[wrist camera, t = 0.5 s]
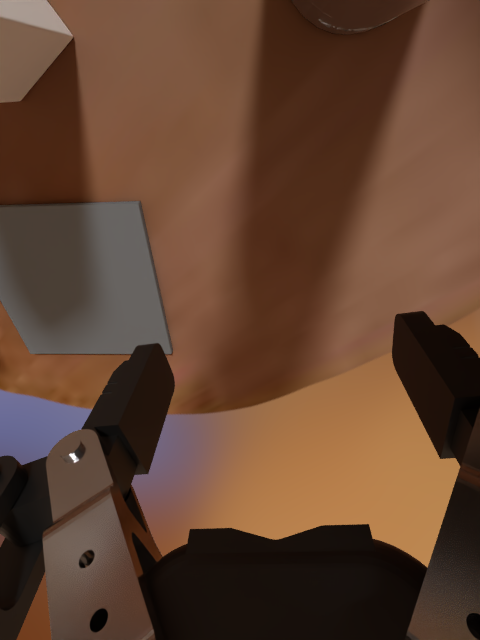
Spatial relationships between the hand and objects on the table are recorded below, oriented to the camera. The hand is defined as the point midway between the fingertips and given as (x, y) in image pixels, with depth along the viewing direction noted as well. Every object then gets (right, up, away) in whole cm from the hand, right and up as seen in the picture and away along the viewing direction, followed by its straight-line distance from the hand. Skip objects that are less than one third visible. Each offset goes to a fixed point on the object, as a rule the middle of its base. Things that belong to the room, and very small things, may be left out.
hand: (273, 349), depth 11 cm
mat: (-17, +4, +20) cm, 26 cm away
